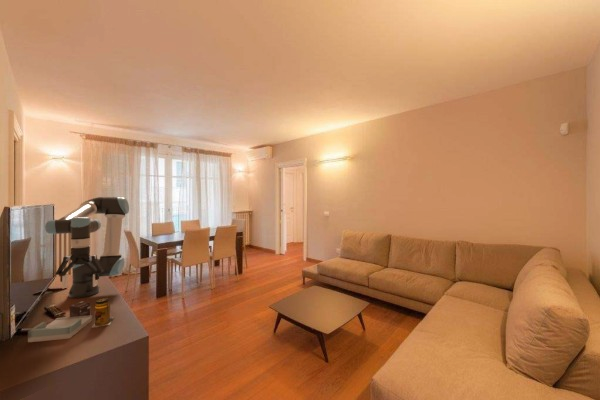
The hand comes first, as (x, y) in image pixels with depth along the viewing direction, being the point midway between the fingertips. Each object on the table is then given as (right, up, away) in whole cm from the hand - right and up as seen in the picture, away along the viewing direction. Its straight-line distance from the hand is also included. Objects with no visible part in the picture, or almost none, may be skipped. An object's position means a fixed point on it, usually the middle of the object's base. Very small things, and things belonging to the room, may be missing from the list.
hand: (80, 286), depth 129 cm
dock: (+3, -17, -12) cm, 21 cm away
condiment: (+16, -17, -4) cm, 23 cm away
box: (0, -17, 0) cm, 17 cm away
